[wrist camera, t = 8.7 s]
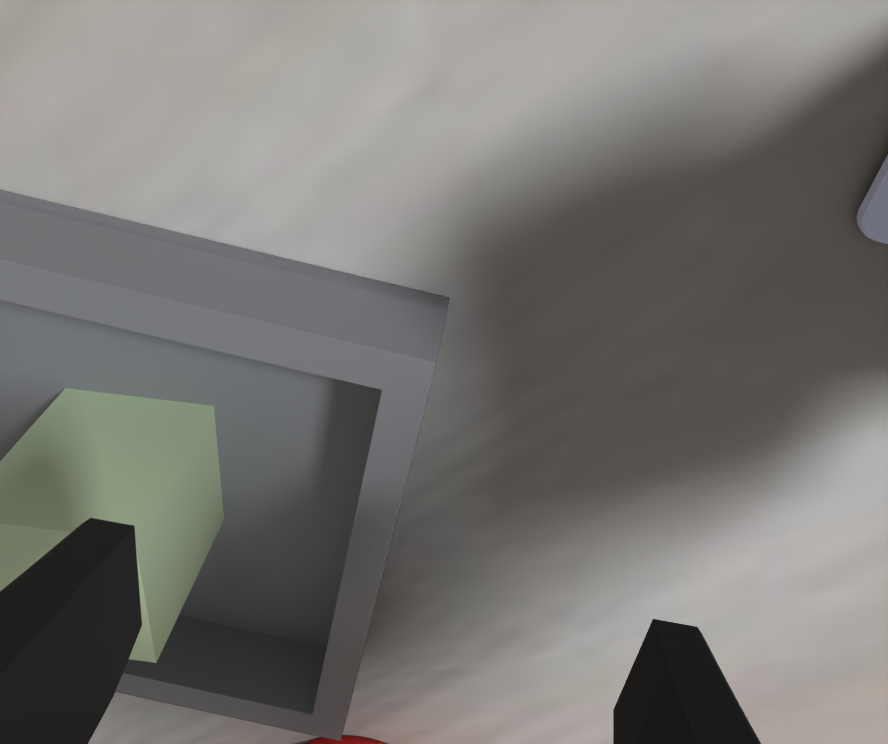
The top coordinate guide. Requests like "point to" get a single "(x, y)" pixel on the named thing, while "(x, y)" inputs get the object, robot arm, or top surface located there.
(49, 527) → the green block
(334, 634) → the tray
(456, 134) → the top surface
